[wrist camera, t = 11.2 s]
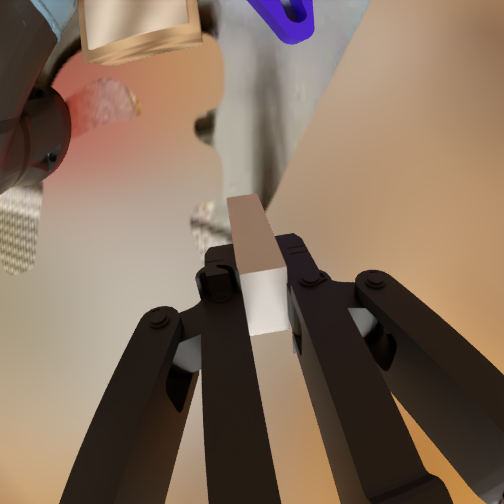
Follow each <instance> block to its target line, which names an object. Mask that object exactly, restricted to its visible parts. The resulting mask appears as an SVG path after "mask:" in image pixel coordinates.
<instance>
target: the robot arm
mask: <svg viewBox="0 0 504 504" xmlns="http://www.w3.org/2000/svg"><path fill="white" fill-rule="evenodd" d="M76 7H77V0H0V195H1V194H2V193H4V192H5V191H6V190H8V189H9V188H11V187H15V186H28V185H33V184H36V183H38V182H40V181H42V180H43V179H45V178H46V177H48V176H49V175H51V174H52V173H53V172H54V171H55V170H56V169H57V168H58V167H59V166H60V164H61V163H62V161H63V159H64V157H65V155H66V153H67V150H68V147H69V143H70V137H71V121H70V115H69V111H68V108H67V106H66V103H65V102H64V100H63V98H62V97H61V95H60V94H59V93H58V92H57V91H56V90H55V89H53V88H52V87H50V86H48V85H46V84H42V83H36V81H37V79H38V76H39V74H40V72H41V71H42V69H43V67H44V65H45V63H46V61H47V59H48V57H49V56H50V54H51V52H52V50H53V48H54V47H55V45H56V43H57V42H59V41H60V39H61V37H62V36H61V34H62V32H63V30H64V29H65V27H66V25H67V23H68V22H69V20H70V18H71V17H72V15H73V14H74V12H75V10H76ZM227 205H228V211H229V218H230V225H231V232H232V239H233V244H228V245H222V246H215V247H210V248H209V249H208V251H207V252H206V253H205V267H203V268H201V270H199V271H198V273H197V274H196V278H195V279H196V283H197V287H198V291H199V294H200V298H201V301H200V302H199V303H198V304H197V305H195V306H194V307H192V308H190V309H188V310H186V311H183V312H180V313H178V311H177V310H176V309H174V308H173V307H168V306H162V307H157V308H154V309H151V310H150V311H148V312H147V313H145V314H144V315H143V317H142V318H141V319H140V321H139V323H138V325H137V327H136V329H135V331H134V333H133V335H132V337H131V339H130V341H129V343H128V345H127V347H126V349H125V351H124V353H123V355H122V357H121V359H120V361H119V363H118V365H117V367H116V369H115V371H114V373H113V375H112V378H111V380H110V382H109V384H108V386H107V388H106V390H105V392H104V395H103V397H102V399H101V401H100V404H99V406H98V408H97V410H96V412H95V415H94V417H93V419H92V422H91V424H90V426H89V428H88V431H87V433H86V435H85V438H84V441H83V443H82V445H81V447H80V450H79V452H78V455H77V457H76V460H75V462H74V465H73V467H72V470H71V473H70V476H69V478H68V481H67V483H66V486H65V489H64V491H63V494H62V497H61V500H60V503H59V504H165V500H166V496H167V492H168V488H169V484H170V480H171V476H172V473H173V469H174V465H175V461H176V457H177V454H178V449H179V445H180V442H181V438H182V434H183V431H184V427H185V424H186V420H187V416H188V412H189V409H190V405H191V401H192V398H193V394H194V390H195V387H196V383H197V380H198V376H199V370H200V369H201V372H202V402H203V403H202V405H203V428H204V446H205V462H206V476H207V488H208V500H209V504H281V500H280V495H279V490H278V485H277V480H276V475H275V470H274V465H273V459H272V454H271V449H270V444H269V439H268V433H267V428H266V423H265V417H264V413H263V407H262V401H261V396H260V391H259V385H258V379H257V374H256V368H255V364H254V357H253V352H252V346H251V340H250V336H253V335H259V334H264V333H270V332H276V331H281V330H286V329H290V324H291V327H292V333H293V353H296V352H297V356H298V359H299V362H300V365H301V369H302V372H303V375H304V378H305V382H306V385H307V389H308V392H309V395H310V399H311V402H312V406H313V409H314V412H315V416H316V419H317V423H318V426H319V429H320V433H321V436H322V440H323V443H324V446H325V450H326V453H327V457H328V460H329V464H330V467H331V471H332V474H333V478H334V481H335V485H336V488H337V492H338V495H339V499H340V503H341V504H453V502H452V499H451V497H450V494H449V492H448V489H447V488H446V486H445V484H444V482H443V481H442V480H441V479H440V478H439V477H437V476H435V475H432V474H430V473H428V472H427V471H426V469H425V467H424V466H423V463H422V461H421V459H420V456H419V454H418V452H417V449H416V447H415V445H414V442H413V440H412V438H411V436H410V433H409V431H408V429H407V427H406V425H405V422H404V420H403V418H402V416H401V414H400V412H399V410H398V407H397V405H396V403H395V401H394V399H393V397H392V395H391V393H392V394H393V395H394V396H395V397H396V398H397V400H398V401H399V402H400V403H401V405H402V406H403V407H404V408H405V409H406V411H407V412H408V413H409V414H410V415H411V416H412V418H413V419H414V420H415V421H416V423H418V425H419V426H420V427H421V429H422V430H423V431H424V432H425V433H426V435H427V436H428V437H429V438H430V439H431V441H432V442H433V443H434V444H435V445H436V447H437V448H438V449H439V450H440V452H441V453H442V454H443V455H444V456H445V458H446V459H447V460H448V461H449V463H450V464H451V465H452V466H453V467H454V469H455V470H456V471H457V472H458V473H459V475H460V476H461V477H462V478H463V480H464V481H465V482H466V483H467V485H468V486H469V487H470V488H471V489H472V490H473V492H474V493H475V494H476V495H477V496H478V497H479V498H481V499H482V500H483V501H484V502H486V503H487V504H504V375H503V374H502V373H501V372H500V371H499V370H498V369H497V368H496V367H495V366H494V365H493V364H492V363H491V362H490V361H489V360H488V359H486V358H485V357H484V356H483V355H482V354H481V353H480V352H479V351H478V350H477V349H476V348H475V347H474V346H473V345H471V344H470V343H469V342H468V341H467V340H466V339H465V338H464V337H463V336H462V335H460V334H459V333H458V332H457V331H456V330H455V329H454V328H452V327H451V326H450V325H449V324H448V323H447V322H446V321H444V320H443V319H442V318H441V317H440V316H439V315H438V314H436V313H435V312H434V311H433V310H432V309H430V308H429V307H428V306H427V305H426V304H425V303H423V302H422V301H421V300H420V299H418V298H417V297H416V296H415V295H414V294H413V293H411V292H410V291H409V290H408V289H406V288H405V287H404V286H403V285H402V284H400V283H399V282H398V281H397V280H395V279H394V278H393V277H392V276H390V275H389V274H387V273H385V272H383V271H379V270H367V271H363V272H361V273H360V274H358V275H357V277H356V279H355V282H337V281H333V280H331V278H330V276H329V275H328V274H327V273H326V272H324V271H322V270H319V269H318V267H317V265H316V264H315V262H314V260H313V258H312V257H311V254H310V253H309V252H308V249H307V247H306V246H305V244H304V242H303V240H302V238H300V237H299V236H297V235H296V234H294V233H291V234H285V235H279V236H274V234H273V232H272V229H271V227H270V224H269V222H268V219H267V217H266V215H265V212H264V210H263V207H262V205H261V203H260V200H259V198H258V195H257V194H250V195H243V196H237V197H230V198H227ZM289 320H290V322H289Z"/></svg>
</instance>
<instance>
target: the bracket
mask: <svg viewBox="0 0 504 504" xmlns="http://www.w3.org/2000/svg"><path fill="white" fill-rule="evenodd" d="M247 1H248V2H249V3H250V4H251V6H252V7H253V8H254V9H255V10H256V11H257V12H258V14H259V15H260V16H261V17H262V18H263V19H264V21H265V22H266V23H267V24H268V25H269V27H270V28H271V29H272V30H273V31H274V33H275V34H276V35H277V36H278V38H279V39H280V40H281V41H282V42H284V43H286V44H297V43H299V42H301V41H304V40H306V39H308V38H309V37H311V36H312V34H313V32H314V15H313V2H312V0H290V3H291V5H292V7H293V10H294V12H295V15H296V17H297V20H298V23H295V22H292V21H290V20H289V19H288V18H287V16H286V14H285V11H284V9H283V6H282V4H281V2H280V0H247Z"/></svg>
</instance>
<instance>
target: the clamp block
mask: <svg viewBox="0 0 504 504" xmlns="http://www.w3.org/2000/svg"><path fill="white" fill-rule="evenodd" d="M78 8H79V23H80V34H81V44H82V53H83V60H84V62H89V63H96V64H103V65H109V66H115V65H119V64H122V63H126V62H129V61H133V60H136V59H140V58H143V57H148V56H152V55H156V54H161V53H165V52H170V51H174V50H179V49H184V48H190V47H195V46H202V45H203V40H202V32H201V24H200V16H199V8H198V0H78Z"/></svg>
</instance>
